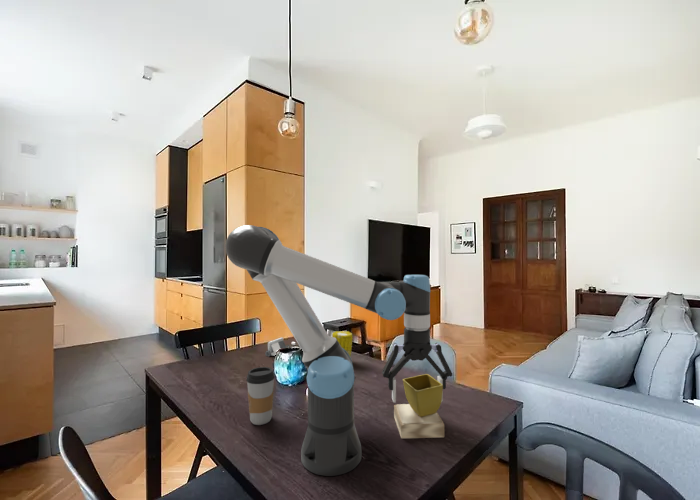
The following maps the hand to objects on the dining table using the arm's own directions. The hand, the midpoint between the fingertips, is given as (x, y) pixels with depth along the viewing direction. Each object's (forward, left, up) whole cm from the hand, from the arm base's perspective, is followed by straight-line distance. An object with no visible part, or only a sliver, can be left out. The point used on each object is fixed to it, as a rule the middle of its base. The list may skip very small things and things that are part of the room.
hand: (416, 400), depth 98 cm
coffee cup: (-47, +6, -8) cm, 48 cm away
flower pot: (+2, 0, -4) cm, 4 cm away
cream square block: (0, 0, -8) cm, 8 cm away
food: (-22, +55, -8) cm, 60 cm away
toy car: (-48, +68, -8) cm, 84 cm away
